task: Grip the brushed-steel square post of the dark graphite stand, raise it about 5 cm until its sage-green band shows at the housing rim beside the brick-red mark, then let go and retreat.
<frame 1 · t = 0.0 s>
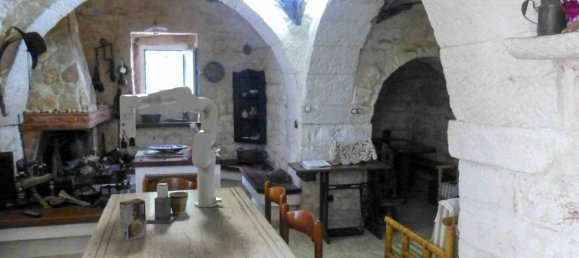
hand: (128, 147, 257), 31 cm above the table, fingers open, 9 cm apart
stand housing: (163, 219, 227), on the table
coffee box: (133, 237, 201), on the table
steel post: (162, 199, 226), point 10 cm above the table, slide at 0.0 cm
ceramic cup: (177, 212, 240), on the table
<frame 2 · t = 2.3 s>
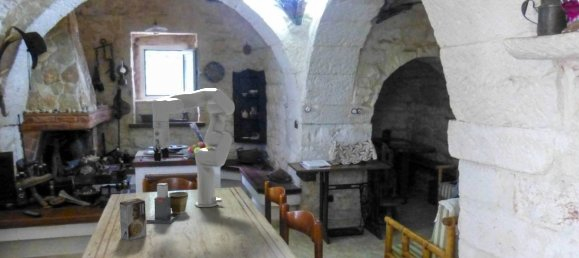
hand: (161, 159, 224), 30 cm above the table, fingers open, 9 cm apart
nothing on the table moved.
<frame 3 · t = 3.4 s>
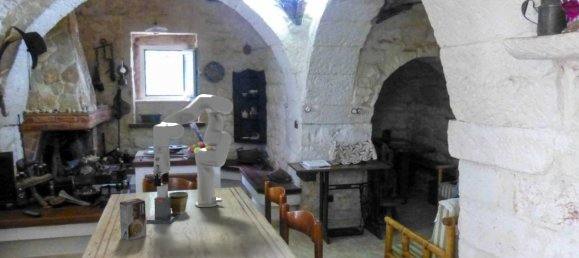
hand: (161, 184, 225), 18 cm above the table, fingers open, 9 cm apart
nothing on the table moved.
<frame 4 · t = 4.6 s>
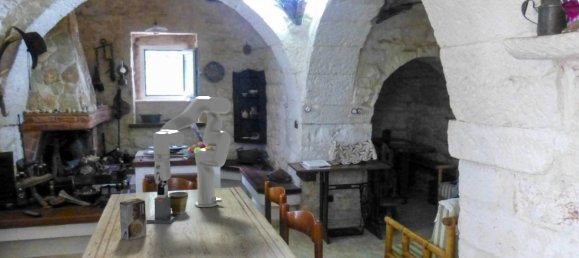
hand: (162, 193, 225), 13 cm above the table, fingers closed on steel post, 4 cm apart
steel post: (162, 199, 226), point 10 cm above the table, slide at 0.0 cm, touching gripper
everything else where it was.
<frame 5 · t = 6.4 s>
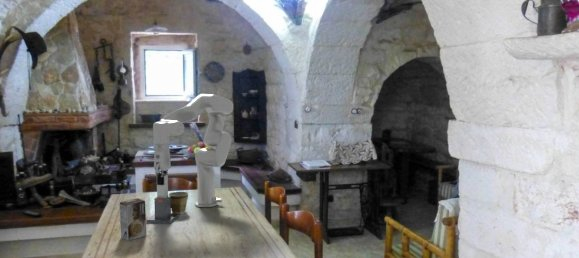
hand: (162, 183, 225), 18 cm above the table, fingers closed on steel post, 4 cm apart
steel post: (162, 190, 225), point 15 cm above the table, slide at 5.0 cm, touching gripper
everything else where it was.
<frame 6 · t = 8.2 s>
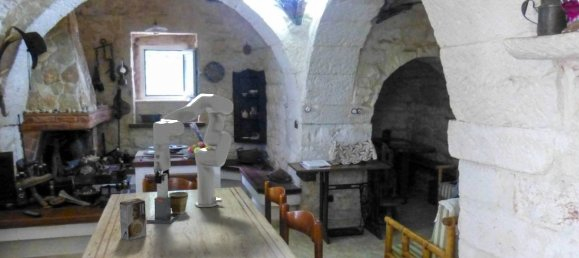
hand: (162, 181, 225), 19 cm above the table, fingers open, 9 cm apart
steel post: (162, 190, 225), point 15 cm above the table, slide at 5.0 cm
everything else where it was.
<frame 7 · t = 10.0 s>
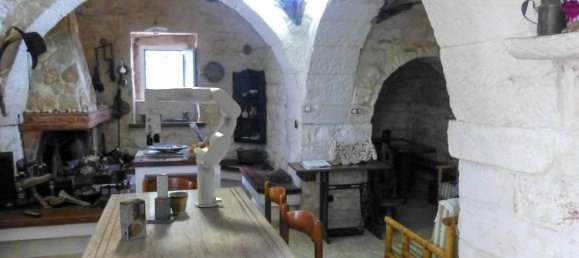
hand: (153, 144, 239), 36 cm above the table, fingers open, 9 cm apart
nothing on the table moved.
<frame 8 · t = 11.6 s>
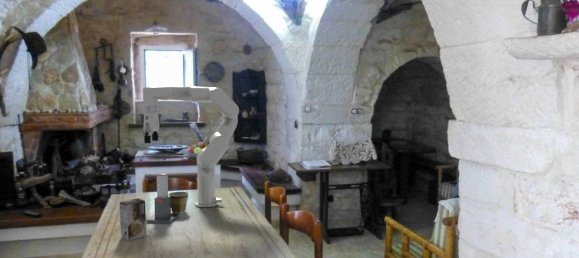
hand: (151, 141, 242), 36 cm above the table, fingers open, 9 cm apart
nothing on the table moved.
at the end: steel post slide at 5.0 cm; the gripper is holding nothing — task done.
